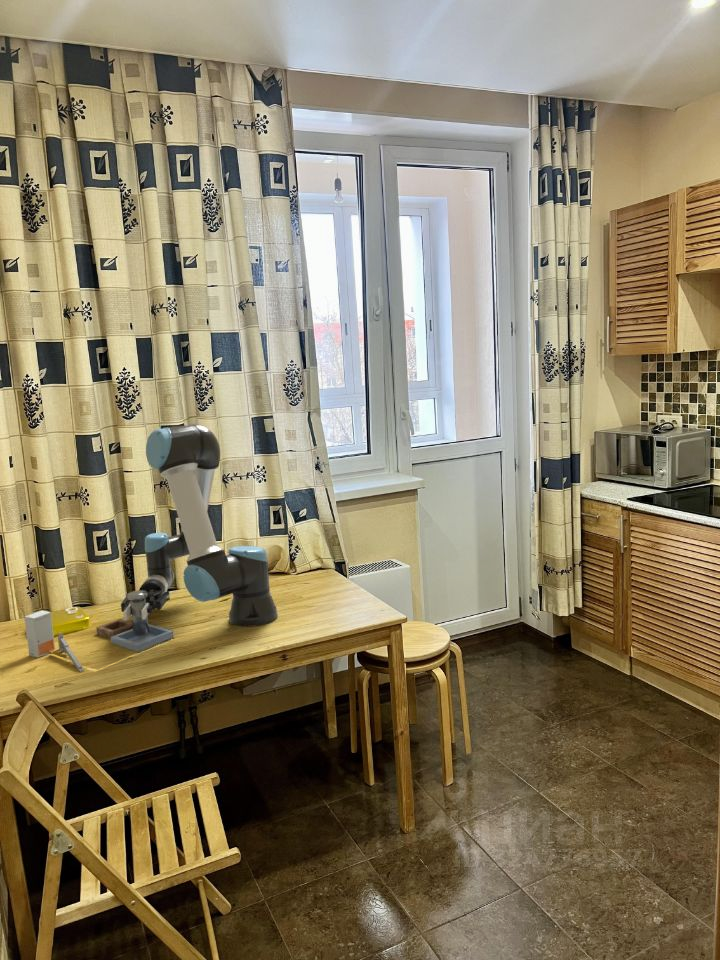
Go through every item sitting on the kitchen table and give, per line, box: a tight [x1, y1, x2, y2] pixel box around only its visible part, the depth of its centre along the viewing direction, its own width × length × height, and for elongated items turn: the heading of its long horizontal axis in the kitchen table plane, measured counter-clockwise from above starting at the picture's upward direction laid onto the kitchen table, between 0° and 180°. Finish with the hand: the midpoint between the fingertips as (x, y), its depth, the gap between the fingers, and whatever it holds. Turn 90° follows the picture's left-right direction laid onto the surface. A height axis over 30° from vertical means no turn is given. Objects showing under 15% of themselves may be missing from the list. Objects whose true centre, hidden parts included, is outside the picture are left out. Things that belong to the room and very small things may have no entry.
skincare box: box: [24, 610, 56, 659], centre depth 215 cm, size 6×4×12 cm
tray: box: [110, 623, 175, 654], centre depth 221 cm, size 13×13×2 cm
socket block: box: [96, 618, 133, 639], centre depth 229 cm, size 8×8×3 cm
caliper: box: [57, 632, 85, 673], centre depth 209 cm, size 20×1×6 cm, turn 37°
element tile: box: [50, 606, 91, 637], centre depth 236 cm, size 15×15×5 cm
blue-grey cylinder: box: [126, 590, 149, 636], centre depth 220 cm, size 6×6×12 cm
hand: (134, 615), depth 214 cm, fingers closed on blue-grey cylinder, 4 cm apart
